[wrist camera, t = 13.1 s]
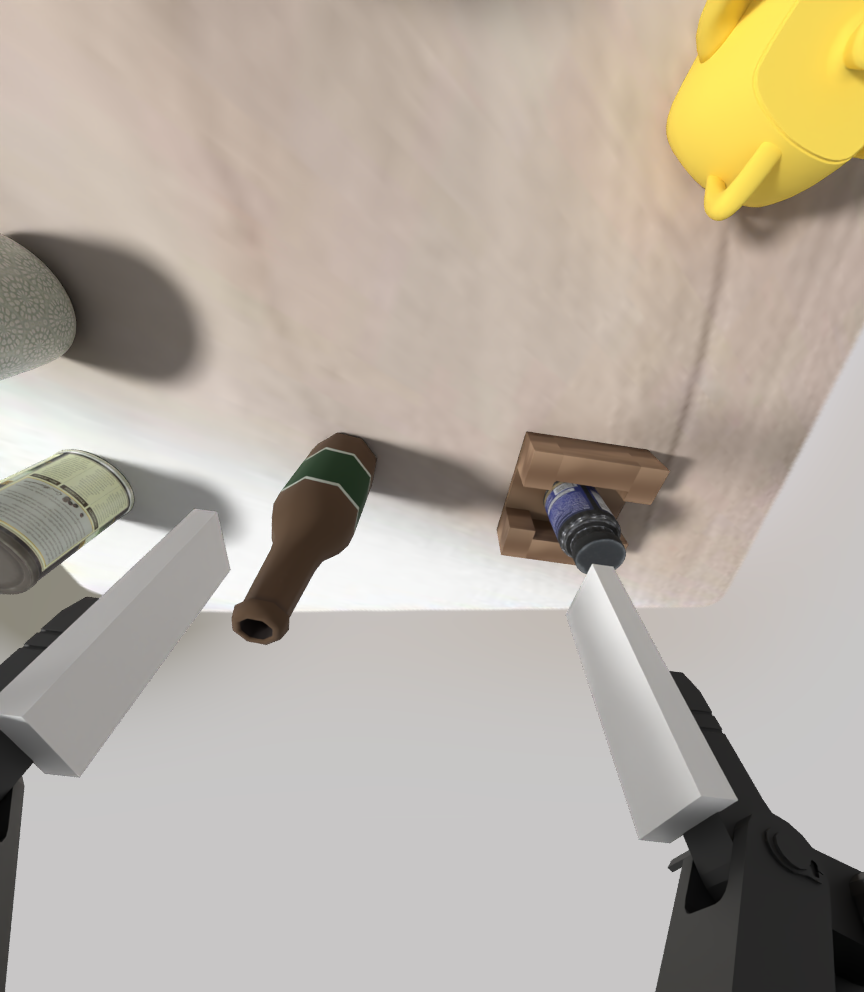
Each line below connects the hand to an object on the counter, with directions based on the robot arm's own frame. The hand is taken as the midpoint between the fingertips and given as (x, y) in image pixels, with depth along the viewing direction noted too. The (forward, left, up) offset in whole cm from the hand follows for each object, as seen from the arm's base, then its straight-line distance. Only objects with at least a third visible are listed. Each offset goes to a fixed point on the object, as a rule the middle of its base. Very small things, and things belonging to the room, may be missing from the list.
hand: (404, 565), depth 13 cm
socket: (+12, +18, -29) cm, 36 cm away
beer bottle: (+12, -9, -29) cm, 33 cm away
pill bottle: (+12, +18, -28) cm, 35 cm away
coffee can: (+21, -42, -29) cm, 55 cm away
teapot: (-22, +19, -29) cm, 41 cm away
